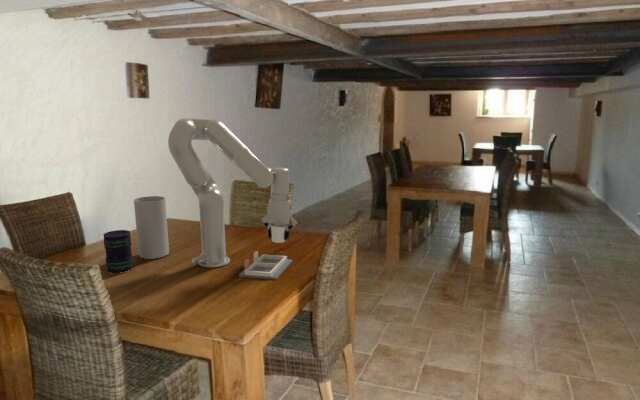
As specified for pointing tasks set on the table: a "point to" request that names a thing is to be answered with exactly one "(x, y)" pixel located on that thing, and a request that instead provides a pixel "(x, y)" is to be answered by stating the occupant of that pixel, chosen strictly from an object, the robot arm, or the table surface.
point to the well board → (265, 266)
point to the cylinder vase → (151, 227)
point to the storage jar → (118, 251)
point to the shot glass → (278, 233)
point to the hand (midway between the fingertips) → (278, 238)
